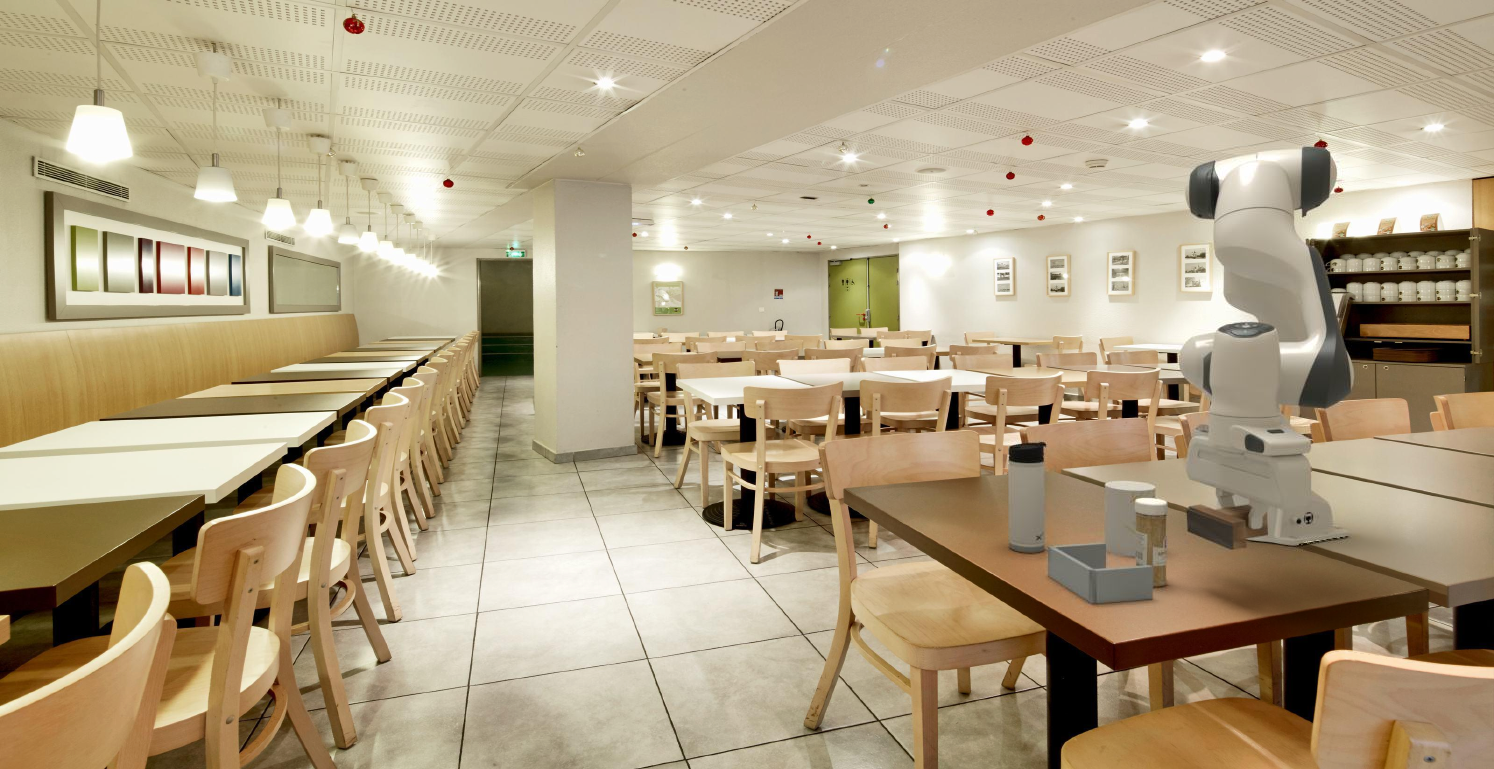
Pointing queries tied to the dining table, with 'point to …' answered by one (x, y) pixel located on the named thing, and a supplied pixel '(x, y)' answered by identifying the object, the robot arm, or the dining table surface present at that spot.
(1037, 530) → the travel mug
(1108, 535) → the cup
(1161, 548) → the sprinkles bottle
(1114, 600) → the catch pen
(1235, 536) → the scraper
